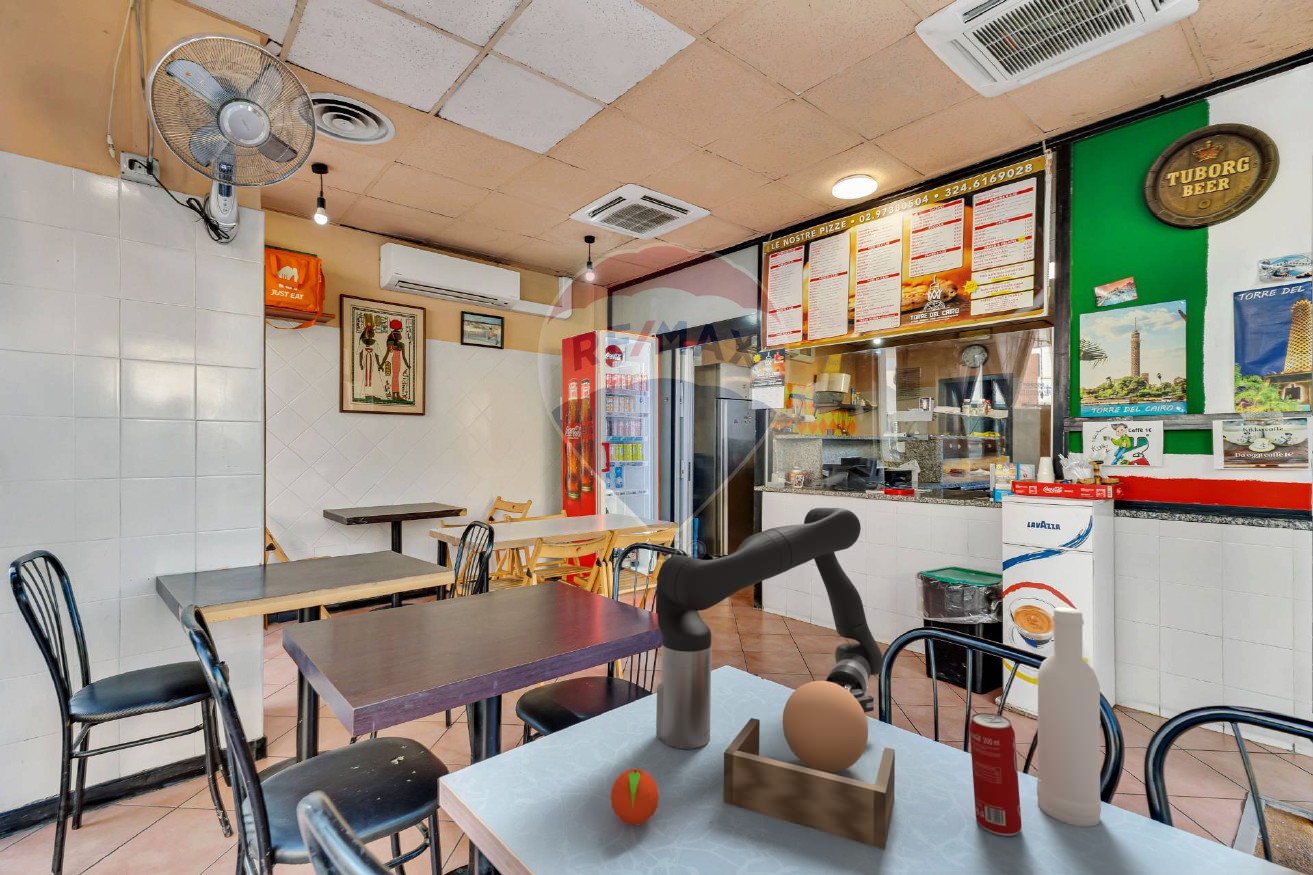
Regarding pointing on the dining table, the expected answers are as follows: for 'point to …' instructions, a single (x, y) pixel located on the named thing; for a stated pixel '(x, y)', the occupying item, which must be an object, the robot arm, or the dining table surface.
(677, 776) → the dining table surface
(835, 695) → the ball
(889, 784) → the pocket
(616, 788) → the clementine
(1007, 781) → the beverage can
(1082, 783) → the bottle
